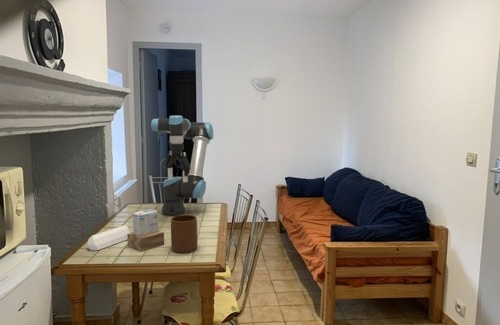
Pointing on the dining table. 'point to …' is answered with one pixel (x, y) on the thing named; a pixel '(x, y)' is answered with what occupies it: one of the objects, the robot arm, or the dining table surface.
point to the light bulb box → (145, 222)
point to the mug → (184, 233)
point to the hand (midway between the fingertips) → (177, 180)
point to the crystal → (108, 238)
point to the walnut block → (145, 241)
